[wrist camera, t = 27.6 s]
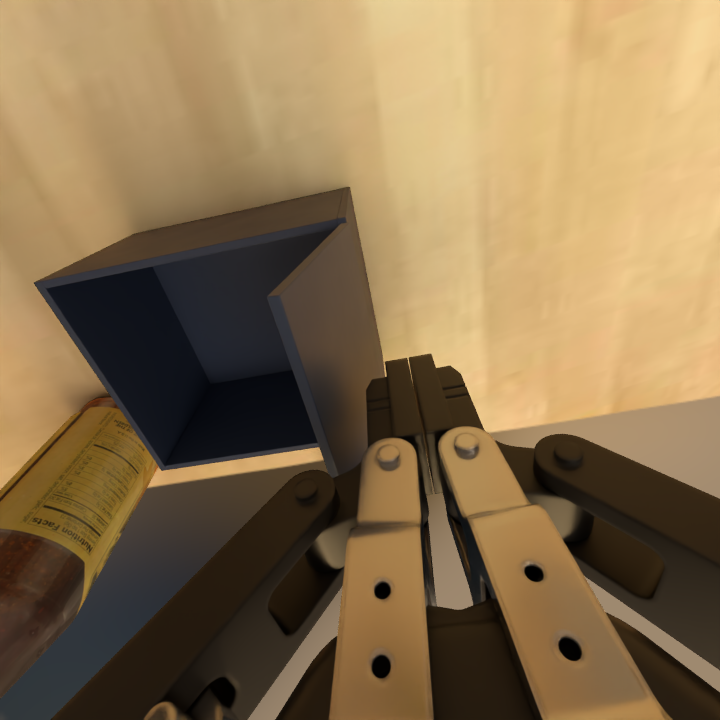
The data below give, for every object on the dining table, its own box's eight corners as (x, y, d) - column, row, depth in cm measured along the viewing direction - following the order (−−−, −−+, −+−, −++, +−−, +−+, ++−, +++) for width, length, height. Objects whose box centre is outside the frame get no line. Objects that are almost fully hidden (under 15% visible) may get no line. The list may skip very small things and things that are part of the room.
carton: (134, 233, 20) (32, 282, 14) (349, 186, 19) (345, 217, 13) (209, 385, 25) (161, 471, 19) (382, 355, 24) (391, 436, 18)
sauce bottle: (115, 463, 29) (-228, 942, 12) (61, 400, 26) (-509, 930, 9) (193, 447, 28) (-55, 936, 11) (148, 380, 25) (-297, 922, 8)
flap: (266, 297, 8) (279, 295, 8) (340, 223, 12) (349, 221, 12) (361, 568, 13) (369, 569, 13) (388, 444, 17) (395, 445, 17)
